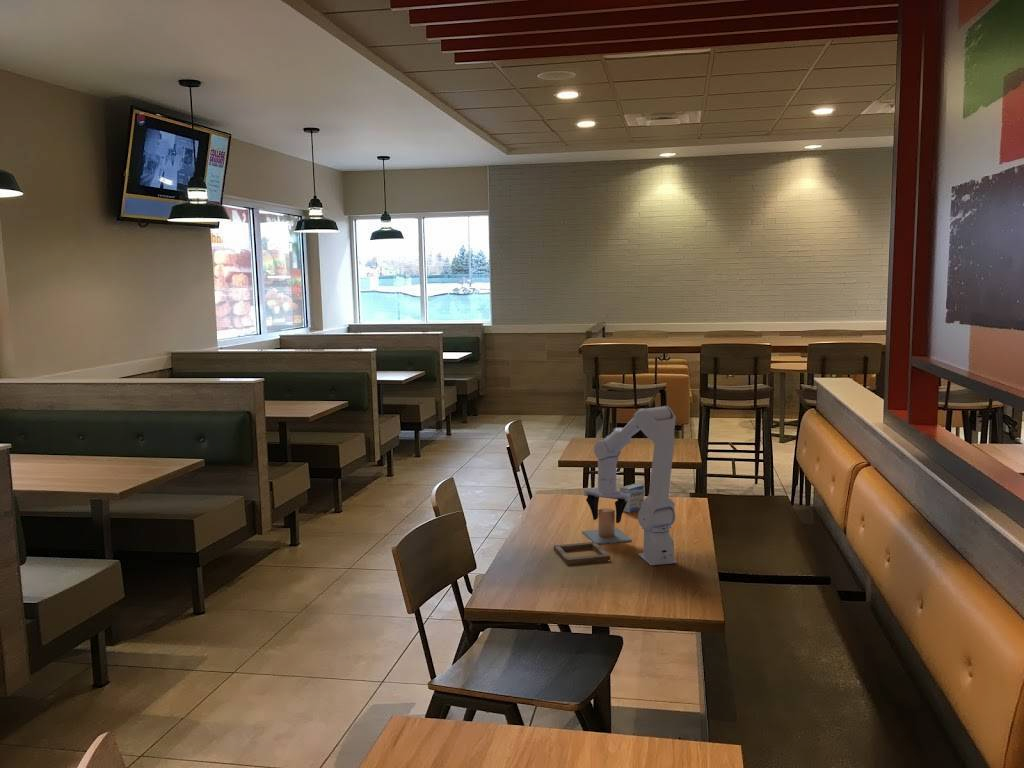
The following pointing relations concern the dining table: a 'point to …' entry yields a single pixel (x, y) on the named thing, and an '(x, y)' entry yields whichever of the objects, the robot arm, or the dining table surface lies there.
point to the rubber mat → (617, 537)
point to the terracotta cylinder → (606, 523)
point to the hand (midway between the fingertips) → (606, 520)
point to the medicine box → (633, 497)
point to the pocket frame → (577, 560)
